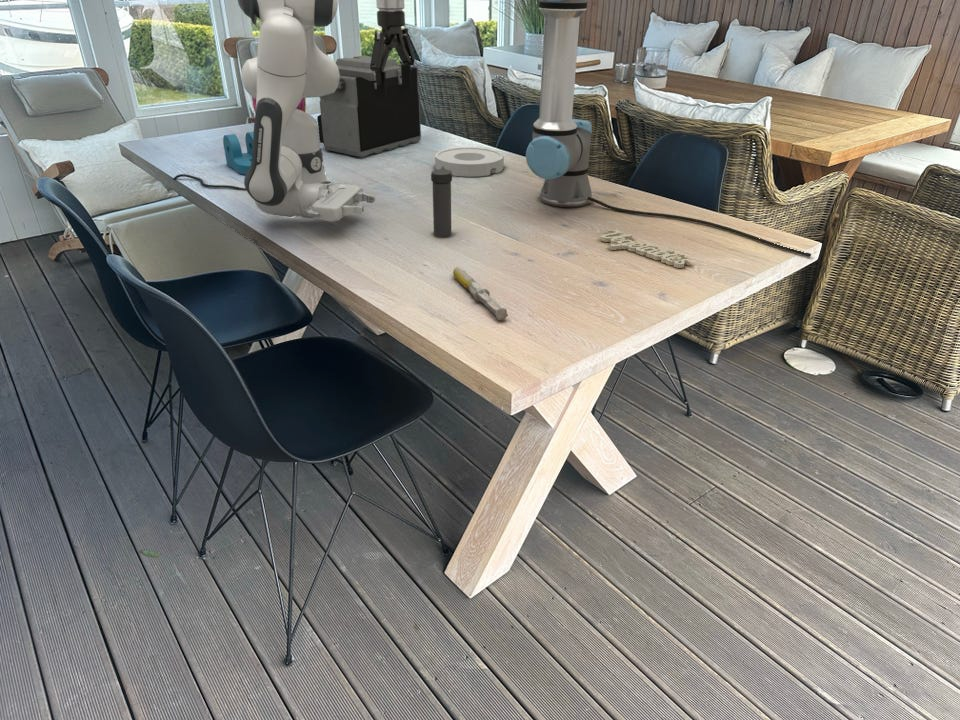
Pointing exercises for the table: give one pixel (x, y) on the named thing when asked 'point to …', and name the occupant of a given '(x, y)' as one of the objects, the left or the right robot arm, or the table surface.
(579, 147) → the right robot arm
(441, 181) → the lid
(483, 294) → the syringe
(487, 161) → the ashtray
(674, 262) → the decorative sign
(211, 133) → the table surface
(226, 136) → the camera mount
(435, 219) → the dark grey cylinder
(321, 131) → the cooler box
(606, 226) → the table surface
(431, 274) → the table surface
